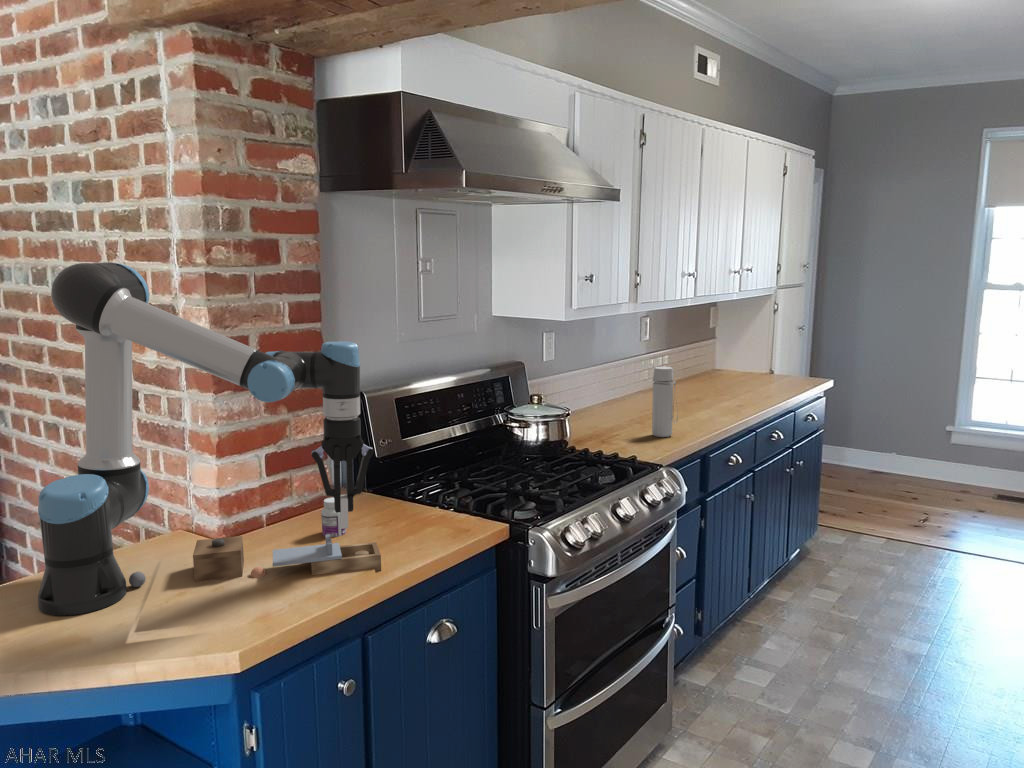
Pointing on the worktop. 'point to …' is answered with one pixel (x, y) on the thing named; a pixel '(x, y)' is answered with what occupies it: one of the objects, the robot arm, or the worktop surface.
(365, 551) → the cork
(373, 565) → the pencil box
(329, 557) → the sliding lid
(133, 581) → the ball grey
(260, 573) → the ball terracotta
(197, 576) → the cover
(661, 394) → the water bottle
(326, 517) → the pill bottle
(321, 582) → the worktop surface
